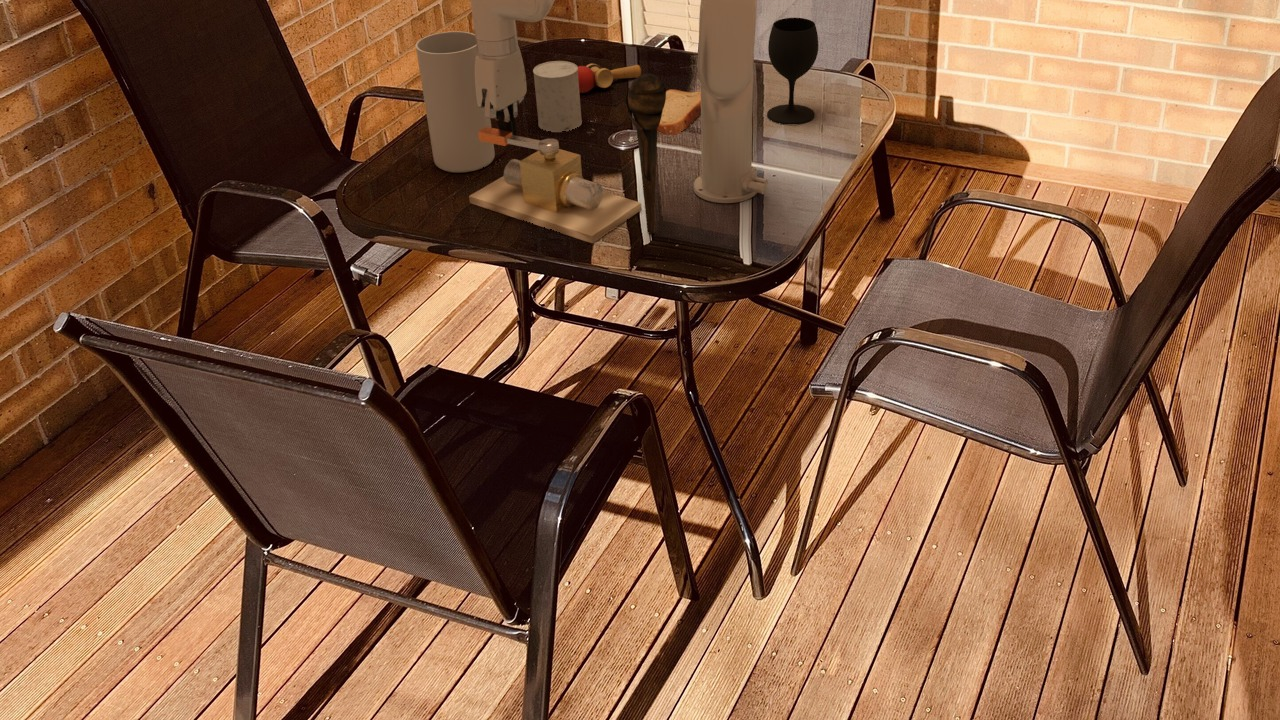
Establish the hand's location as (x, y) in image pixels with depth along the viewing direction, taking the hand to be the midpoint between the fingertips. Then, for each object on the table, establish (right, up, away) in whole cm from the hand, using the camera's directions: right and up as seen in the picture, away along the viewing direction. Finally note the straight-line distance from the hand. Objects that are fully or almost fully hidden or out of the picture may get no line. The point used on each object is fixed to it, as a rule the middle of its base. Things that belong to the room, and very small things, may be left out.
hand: (508, 137), depth 217 cm
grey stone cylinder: (+8, +9, +31) cm, 33 cm away
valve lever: (+3, -2, -5) cm, 6 cm away
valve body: (+9, -12, -2) cm, 15 cm away
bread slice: (+34, +11, +33) cm, 48 cm away
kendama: (+17, +21, +48) cm, 55 cm away
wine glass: (+58, +10, +29) cm, 66 cm away
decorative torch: (+27, -20, -11) cm, 36 cm away
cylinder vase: (-11, -2, +17) cm, 21 cm away
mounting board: (+9, -13, -1) cm, 16 cm away
